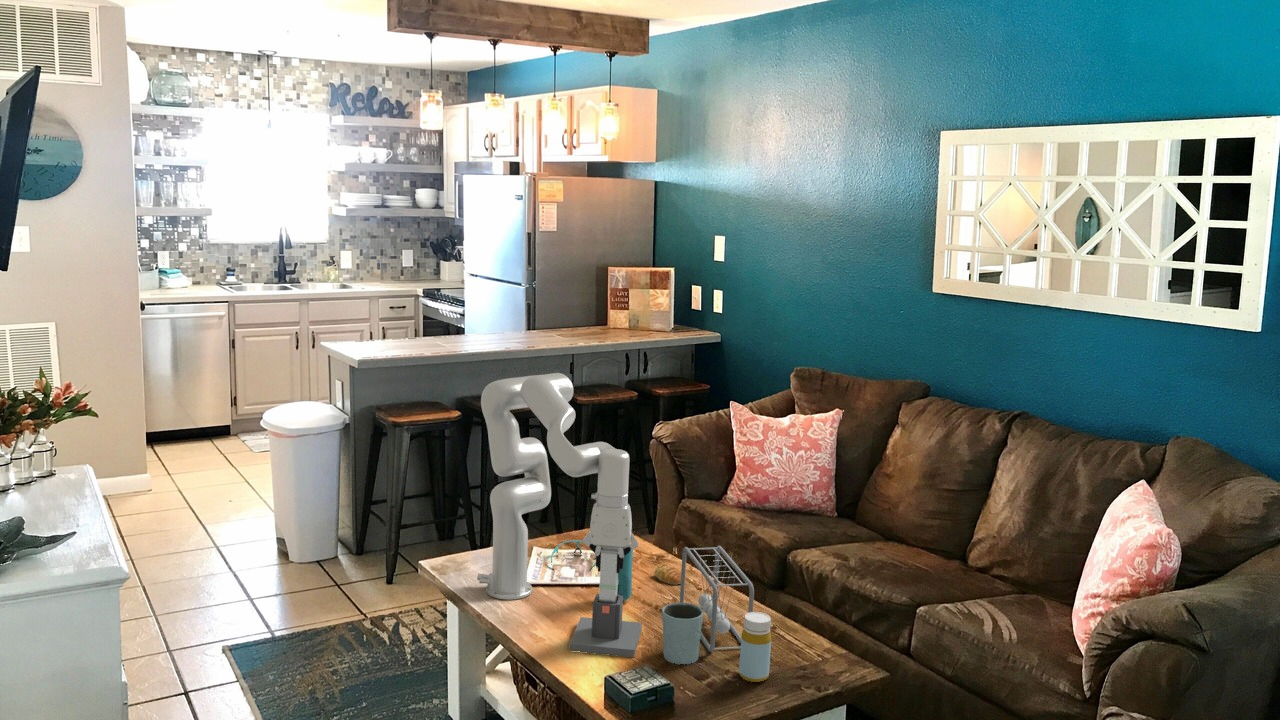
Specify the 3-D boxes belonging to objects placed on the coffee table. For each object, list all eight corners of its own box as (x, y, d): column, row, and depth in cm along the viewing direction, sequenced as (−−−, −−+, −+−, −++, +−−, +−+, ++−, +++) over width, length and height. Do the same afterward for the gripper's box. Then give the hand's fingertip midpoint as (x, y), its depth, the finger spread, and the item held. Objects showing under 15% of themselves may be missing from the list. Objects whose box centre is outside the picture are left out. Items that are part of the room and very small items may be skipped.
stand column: (598, 607, 261) (600, 550, 258) (600, 600, 265) (603, 544, 262) (615, 609, 260) (617, 551, 258) (617, 602, 265) (619, 545, 262)
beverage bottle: (632, 597, 292) (635, 528, 288) (630, 607, 285) (633, 536, 282) (609, 595, 292) (612, 526, 289) (606, 605, 286) (609, 534, 282)
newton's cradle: (678, 606, 288) (682, 544, 285) (715, 604, 290) (719, 543, 287) (710, 655, 259) (714, 587, 256) (750, 653, 261) (755, 585, 258)
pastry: (689, 583, 304) (690, 571, 303) (671, 588, 300) (671, 575, 300) (669, 573, 312) (670, 560, 311) (651, 577, 308) (652, 565, 307)
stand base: (569, 651, 257) (570, 609, 255) (580, 624, 273) (581, 584, 271) (634, 657, 256) (636, 615, 254) (641, 629, 271) (643, 589, 269)
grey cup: (687, 670, 251) (690, 622, 249) (651, 658, 256) (654, 611, 254) (708, 654, 259) (710, 608, 257) (672, 643, 264) (675, 598, 262)
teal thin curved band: (601, 556, 322) (601, 541, 321) (594, 579, 308) (594, 564, 307) (555, 553, 324) (556, 538, 322) (547, 575, 309) (547, 560, 308)
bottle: (736, 669, 252) (740, 610, 249) (765, 669, 252) (769, 611, 250) (741, 683, 245) (745, 623, 242) (771, 683, 246) (775, 623, 243)
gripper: (576, 501, 255) (573, 573, 258) (644, 507, 253) (641, 579, 257) (581, 492, 262) (578, 562, 266) (647, 497, 261) (644, 567, 264)
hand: (609, 569), depth 261 cm, fingers closed on stand column, 4 cm apart
